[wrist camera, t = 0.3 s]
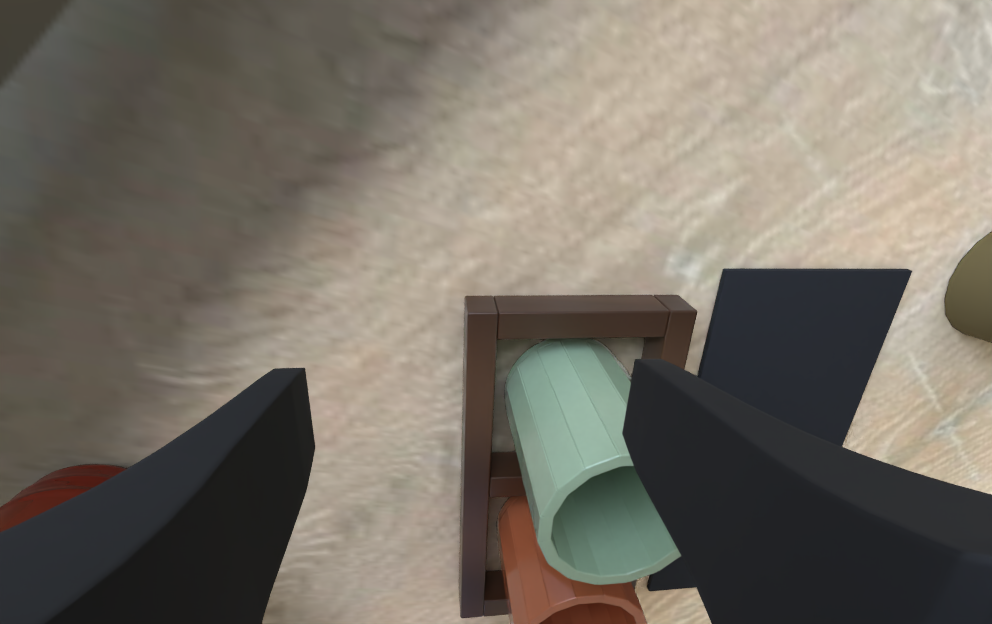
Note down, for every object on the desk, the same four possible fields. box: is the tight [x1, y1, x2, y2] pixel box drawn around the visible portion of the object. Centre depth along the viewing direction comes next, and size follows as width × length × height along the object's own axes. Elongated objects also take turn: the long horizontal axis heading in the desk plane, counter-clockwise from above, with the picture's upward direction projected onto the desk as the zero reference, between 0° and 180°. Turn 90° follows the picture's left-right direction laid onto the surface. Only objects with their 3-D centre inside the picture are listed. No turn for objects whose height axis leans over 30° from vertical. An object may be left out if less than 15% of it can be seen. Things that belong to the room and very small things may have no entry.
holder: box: [459, 295, 697, 618], centre depth 24 cm, size 18×9×2 cm, turn 177°
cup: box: [504, 338, 681, 585], centre depth 20 cm, size 6×6×8 cm
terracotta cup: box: [496, 496, 647, 624], centre depth 24 cm, size 6×6×6 cm
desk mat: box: [647, 269, 912, 591], centre depth 26 cm, size 20×9×1 cm, turn 177°
